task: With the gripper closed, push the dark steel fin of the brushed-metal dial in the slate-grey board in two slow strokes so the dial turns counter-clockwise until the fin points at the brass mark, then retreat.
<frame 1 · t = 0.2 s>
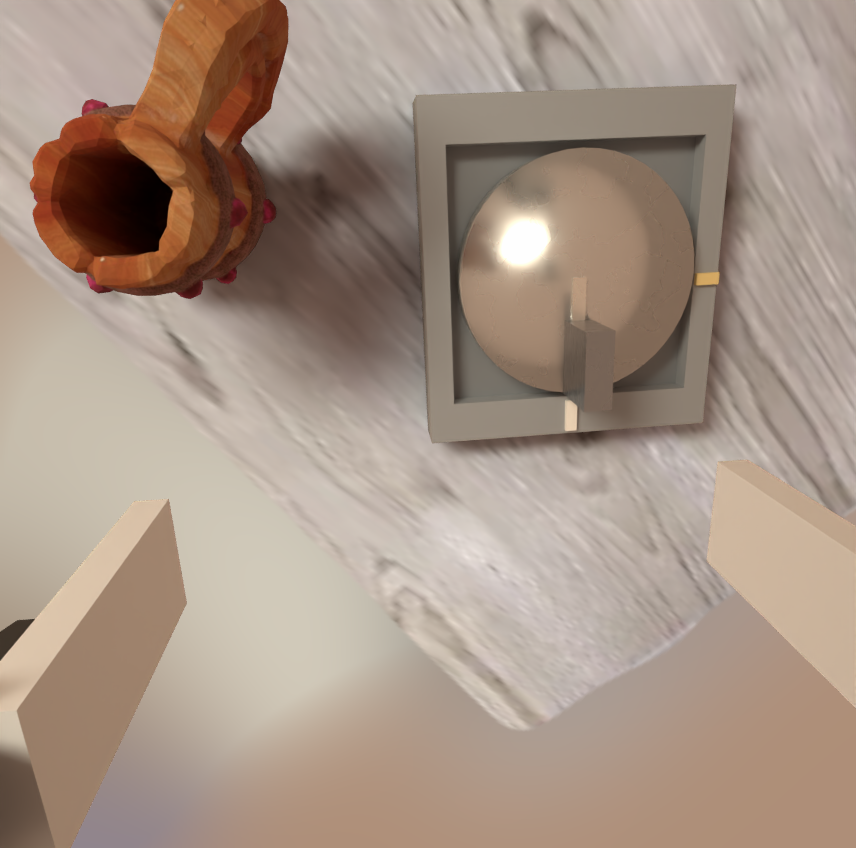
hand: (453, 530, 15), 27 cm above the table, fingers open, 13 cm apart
dial: (584, 278, 36), point 5 cm above the table, hinge at 0.0°
mug: (227, 167, 37), on the table
board: (560, 271, 40), on the table
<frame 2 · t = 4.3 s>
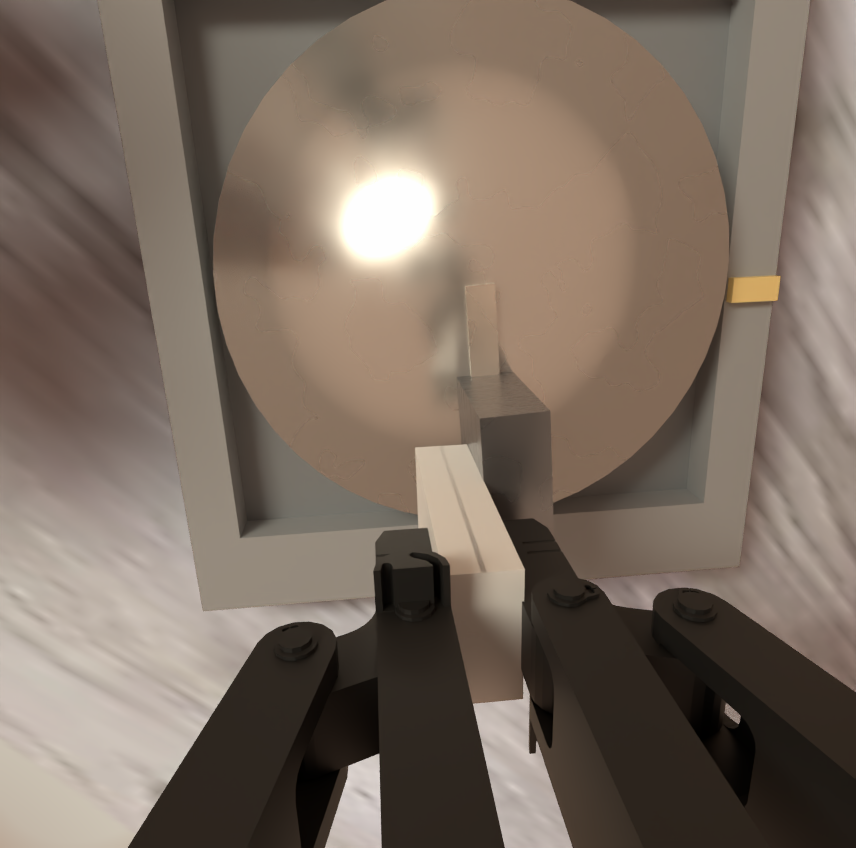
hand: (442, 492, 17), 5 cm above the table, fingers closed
dial: (485, 287, 16), point 5 cm above the table, hinge at 2.7°, touching gripper
board: (460, 274, 20), on the table
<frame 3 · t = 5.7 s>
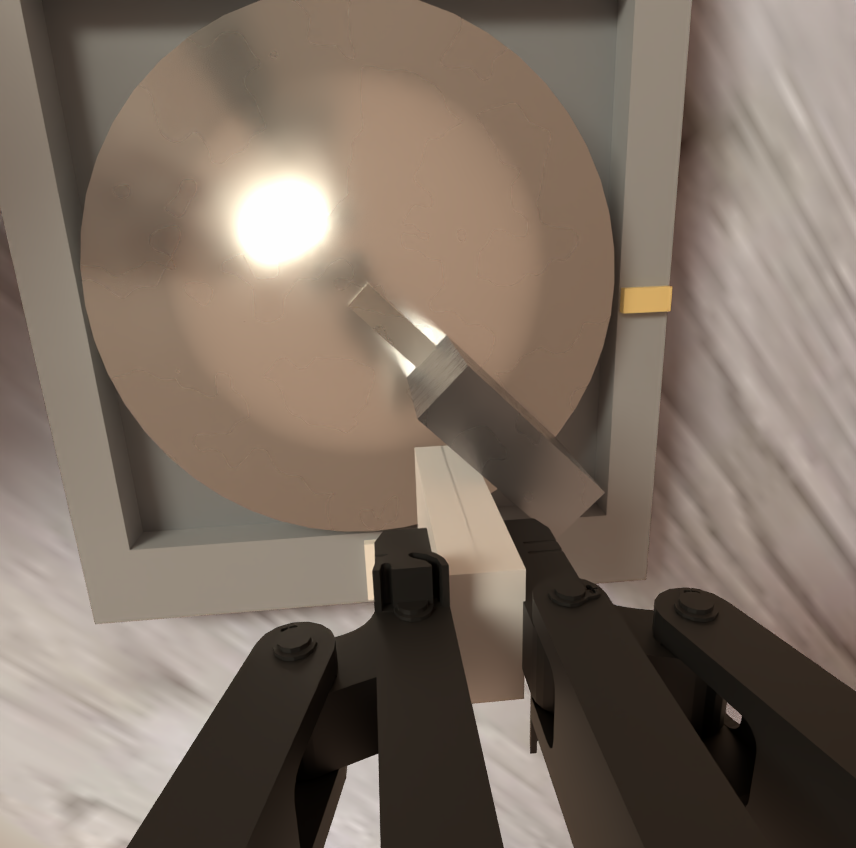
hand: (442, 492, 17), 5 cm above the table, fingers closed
dial: (357, 298, 16), point 5 cm above the table, hinge at 44.8°, touching gripper
board: (359, 282, 20), on the table
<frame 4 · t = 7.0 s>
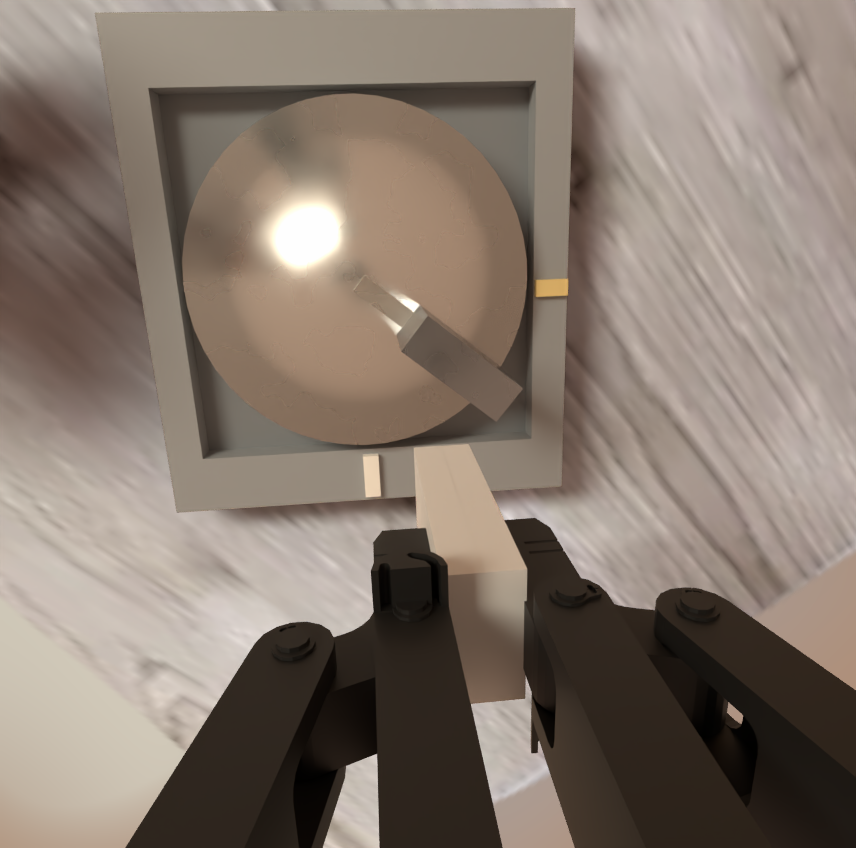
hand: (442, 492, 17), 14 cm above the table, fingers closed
dial: (358, 284, 25), point 5 cm above the table, hinge at 50.5°
board: (360, 277, 29), on the table
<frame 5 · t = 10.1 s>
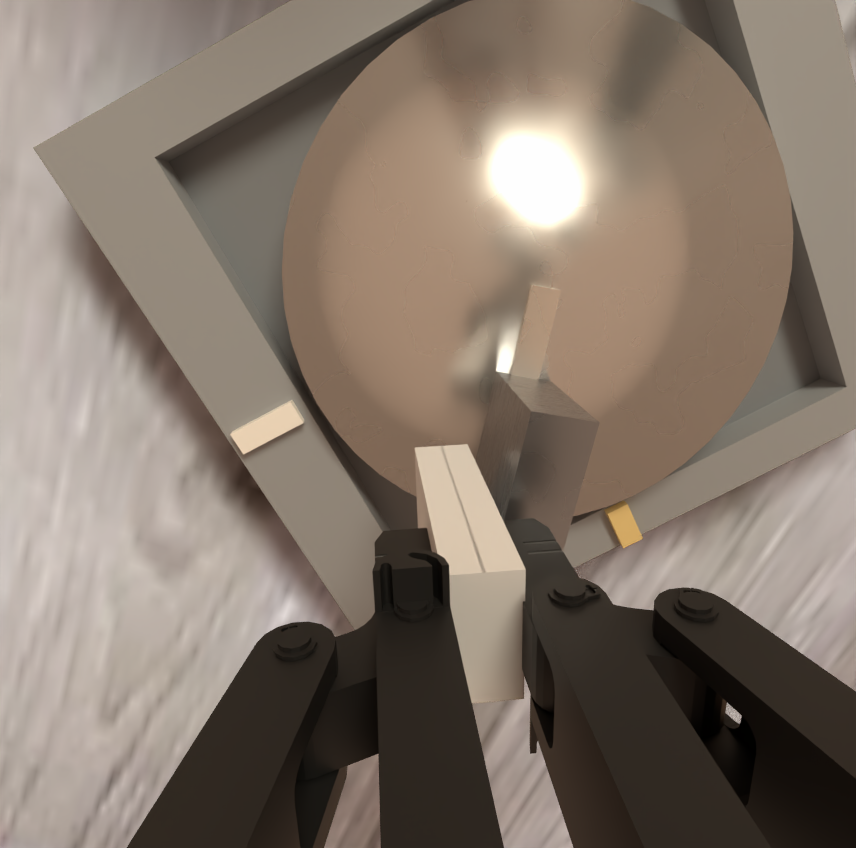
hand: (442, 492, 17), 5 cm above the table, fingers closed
dial: (555, 290, 16), point 5 cm above the table, hinge at 51.8°, touching gripper
board: (515, 276, 20), on the table
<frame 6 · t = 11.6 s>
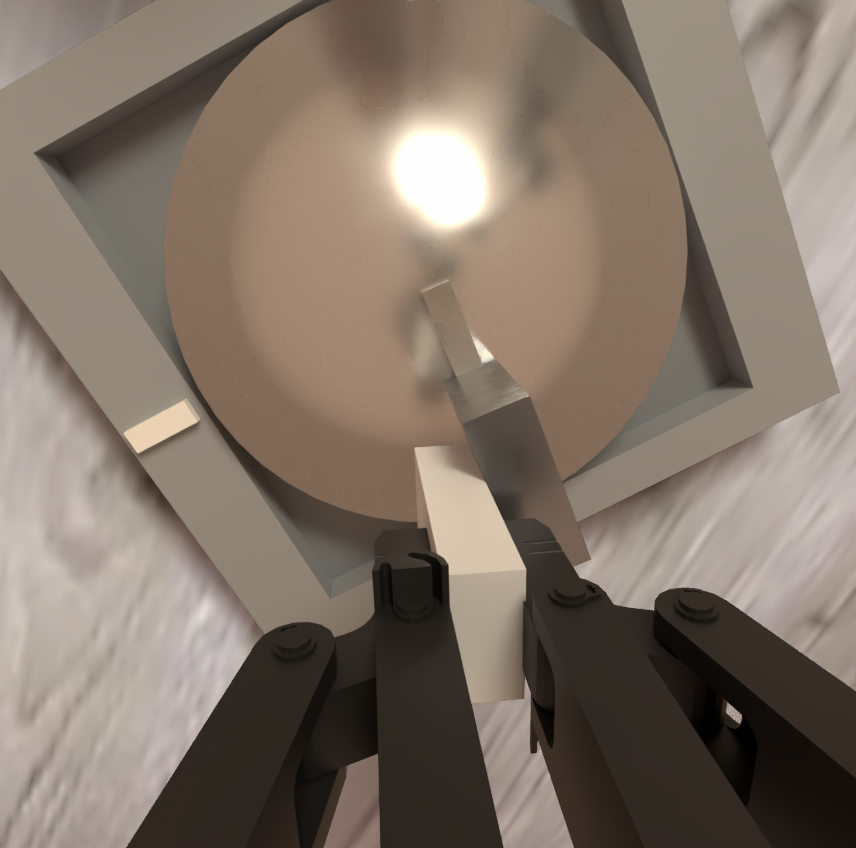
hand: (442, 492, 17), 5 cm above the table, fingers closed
dial: (438, 289, 16), point 5 cm above the table, hinge at 85.6°, touching gripper
board: (423, 275, 20), on the table
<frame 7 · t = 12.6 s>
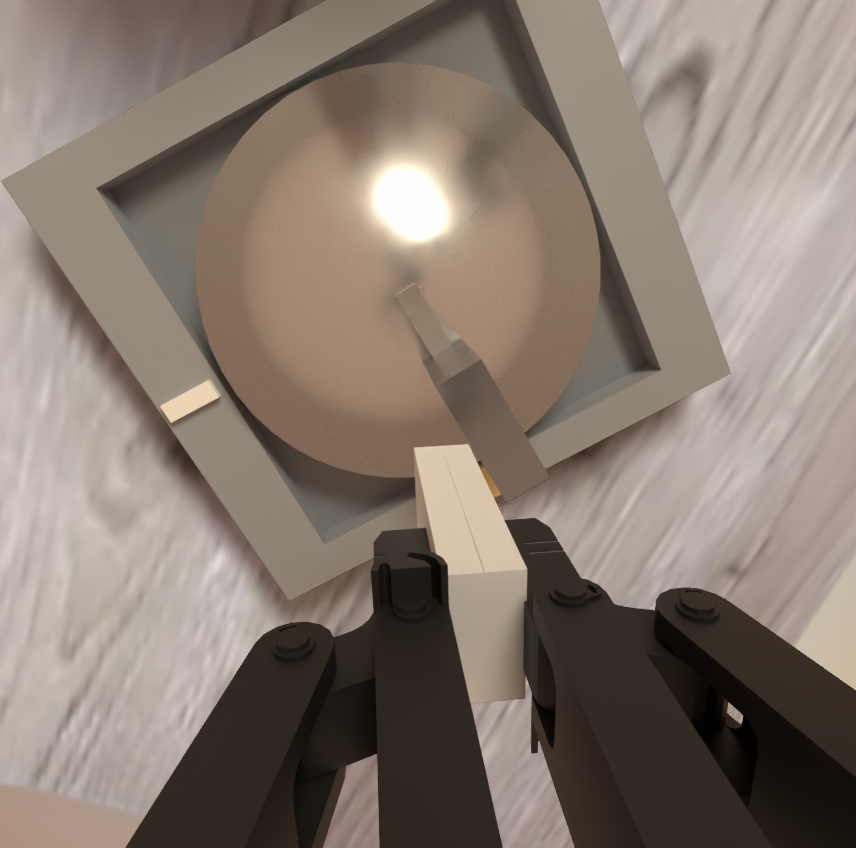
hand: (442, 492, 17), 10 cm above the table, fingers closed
dial: (407, 291, 21), point 5 cm above the table, hinge at 93.9°
board: (398, 281, 25), on the table
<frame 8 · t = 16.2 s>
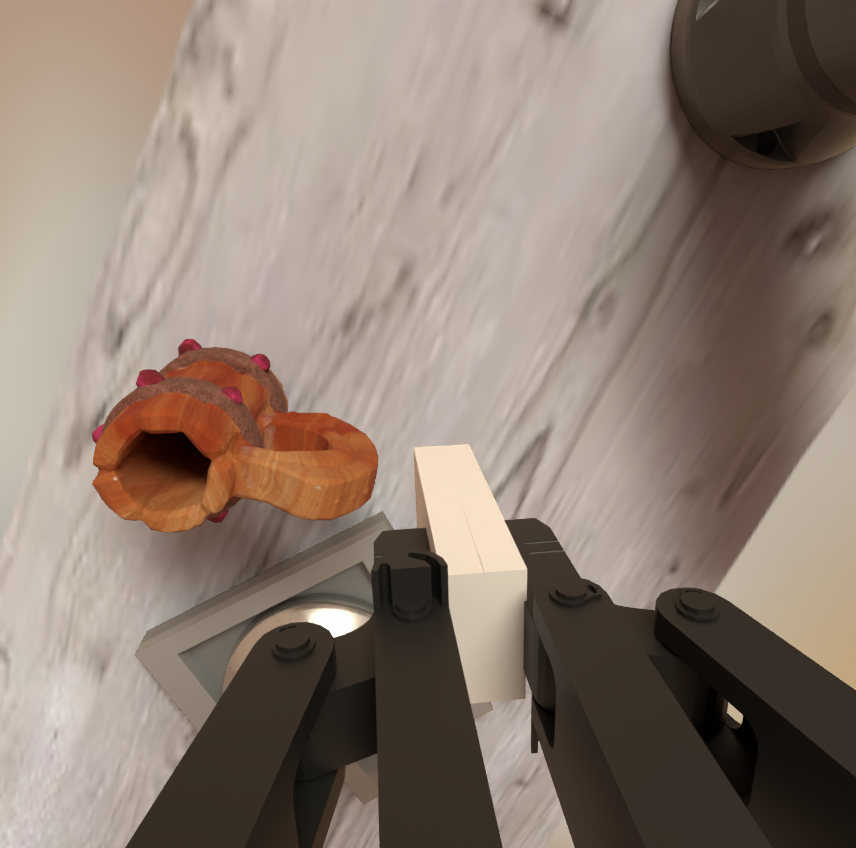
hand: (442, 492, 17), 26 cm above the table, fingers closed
dial: (320, 701, 45), point 5 cm above the table, hinge at 93.9°
mug: (267, 401, 43), on the table
board: (324, 659, 50), on the table
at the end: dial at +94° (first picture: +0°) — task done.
